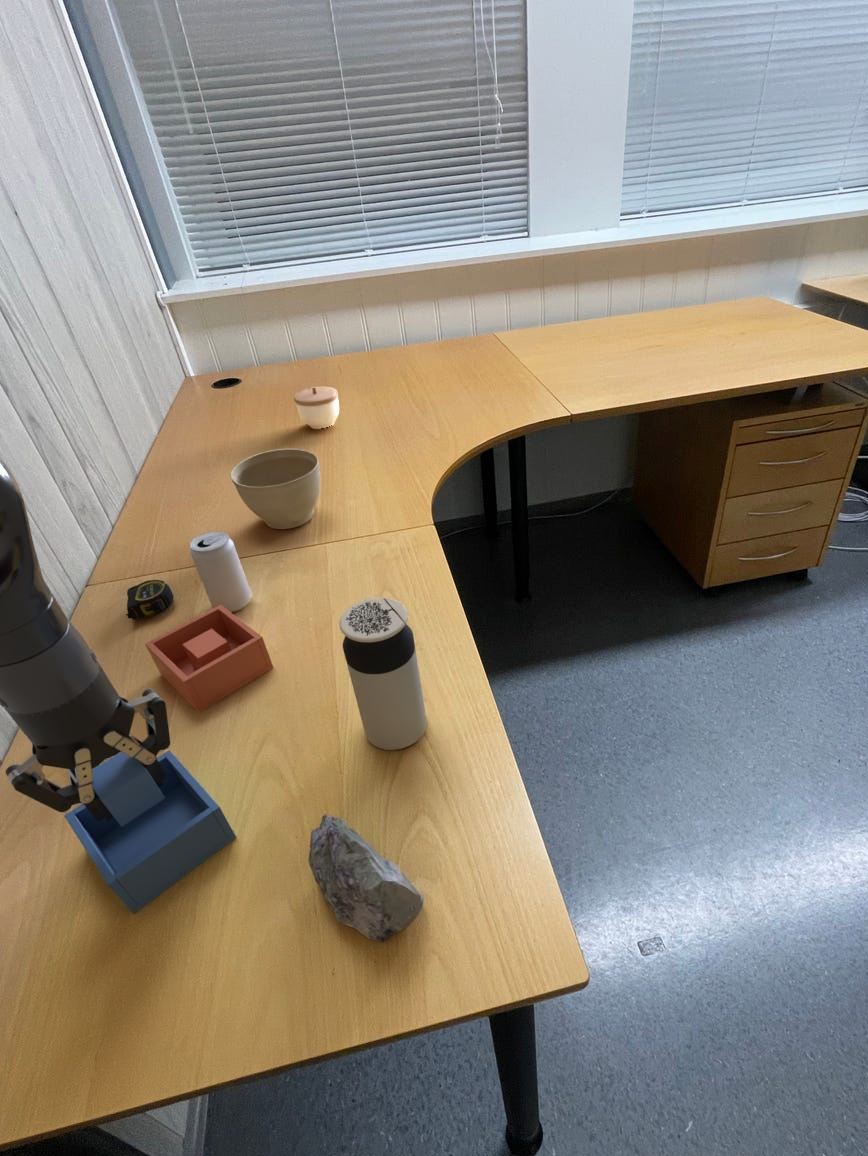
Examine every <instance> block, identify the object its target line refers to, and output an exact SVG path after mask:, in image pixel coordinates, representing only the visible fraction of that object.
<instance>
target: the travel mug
mask: <svg viewBox="0 0 868 1156" xmlns="http://www.w3.org/2000/svg"><path fill="white" fill-rule="evenodd" d="M408 620H409V614H408V610H407V608H406V606H404V605H403V604H402V603H401V602H400V601H397V600H395V599H392V598H387V597H372V598H366V599H362V600H360V601H357V602H356V603H353V604H352V605H350V606H348V608H347V609H346V610H345V611H344V612H342V614H341V616H340V619H339V622H338V623H339V630H340V631H341V633H342V634H343V635H344V637H343V641H342V650H343V654H344V658H345V662H346V665H347V669H348V673H349V678H350V681H351V685H352V688H353V689H352V690H353V692H354V696H355V700H356V704H357V708H358V711H359V716H360V719H361V723H362V727H363V731H364V735H365V738H366V739H367V740H368V742H369V743H370V744H371V745H373V746H374V747H377V748H379V749H383V750H387V751H394V750H395V751H397V750H401V749H404V748H407V747H409V746H411V745H413V744H415V743H417V742H418V741H419V740H420V739H421V738H422V737H423V736H424V734H425V732H426V730H427V726H428V719H427V712H426V707H425V701H424V700H425V699H424V694H423V693H424V692H423V688H422V682H421V674H420V668H419V662H418V656H417V655H418V654H417V650H416V649H417V648H416V642H415V638H414V637H415V636H414V632H413V630H412V628H411V626H409V625H408V624H407V622H408Z"/></svg>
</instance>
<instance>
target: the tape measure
mask: <svg viewBox="0 0 868 1156" xmlns="http://www.w3.org/2000/svg"><path fill="white" fill-rule="evenodd" d="M168 584H169V583H166V582H165V581H164V580H160V579H149V580H145V581H144V582H140V583H139V584H136V585H134V586H131V587H129V588H127V591H126V596H127V602H126V611H127V613H125V616H127V619H128V620H130V619H132V620H133V621H139V620H142V619H144V618H145V617H153V616H158V615H160V614H161V613H164V612H165V611H167V610H168V609H170V607H171V606H172V605H173V603H174V597H175V596H174V592H173V590H172V589H171V587H170V586H169V585H168Z"/></svg>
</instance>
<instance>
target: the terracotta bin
mask: <svg viewBox="0 0 868 1156" xmlns="http://www.w3.org/2000/svg"><path fill="white" fill-rule="evenodd" d="M210 629H213V630H214V631H215V632H216V633H218V634H219V635H220V636H221V637H223V638H224V639H225V640H226V641H228V644H229V646H230V648H231V651H230V652H228V653H226V654H225V655H223V656H221V657H219V658H218V659H216V660H214V661H212V662H211V663H209V664H207V665H205V666H203V667H202V668H200V669H198V670H195V669H194V668H193V666H192V664H191V661H190V659H189V657H188V655H187V653H186V651H185V649H184V647H183V645H182V644H184V643H186V642H188V641H189V640H191V639H193V638H195V637H197V636H199V635H201V634H202V633H204V632H206V631H208V630H210ZM144 646H145V647H146V649H147V651H148V653H149V655H150V656H151V659H152V660H153V662H154V664H155V666H156V668H157V669H158V672H159V673H160V675H161V676H162V677H163V678H164V679H165V680H166V681H167V682H168V683H169V685H170V686H172V687H173V688H174V690H176V692H178V693H179V694H180V695H181V696H182V697H183V698H184V699H185V700H186V702H188V703H189V704H190V705H191V706H192V708H194V709H195V711H197V712H198V713H201V712H203V711H204V710H206V709H208V708H209V707H211V706H213V705H214V704H216V703H218V702H219V701H220V700H222V699H224V698H226V697H227V696H229V695H231V694H232V693H234V692H236V691H238V690H239V689H240V688H242V687H244V686H246V685H248V684H249V683H251V682H252V681H254V680H255V679H257V678H259V677H260V676H262V675H264V674H265V673H267V672H268V671H270V670H272V669H274V665H273V662H272V659H271V657H270V654H269V651H268V649H267V645H266V643H265V641H264V637H263V636H262V635H260V634H259V632H257V631H256V630H254V629H253V628H252V627H250V626H249V625H248V624H246V623H245V622H244V621H242V620H241V619H240V618H239V617H237V616H236V615H235V614H233V612H230V611H228V610H227V609H226V608H224V607H223V606H222V605H219V606H217V607H215V608H213V607H212V608H211V609H209V610H208V611H205V612H203V613H201V614H199V615H197V616H195V617H193V618H192V619H190V620H188V621H186V622H183V623H182V624H181V625H178V626H177V627H175V628H173V629H170V630H169V631H166V632H165V633H163V634H161V635H159V636H157V637H155V638H153V639H151V640H149V641H147V642H145V643H144Z"/></svg>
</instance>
